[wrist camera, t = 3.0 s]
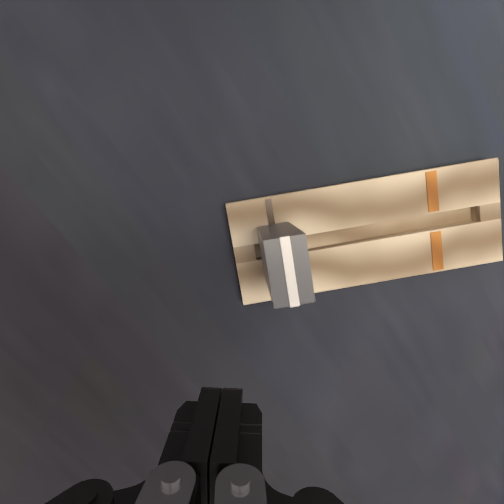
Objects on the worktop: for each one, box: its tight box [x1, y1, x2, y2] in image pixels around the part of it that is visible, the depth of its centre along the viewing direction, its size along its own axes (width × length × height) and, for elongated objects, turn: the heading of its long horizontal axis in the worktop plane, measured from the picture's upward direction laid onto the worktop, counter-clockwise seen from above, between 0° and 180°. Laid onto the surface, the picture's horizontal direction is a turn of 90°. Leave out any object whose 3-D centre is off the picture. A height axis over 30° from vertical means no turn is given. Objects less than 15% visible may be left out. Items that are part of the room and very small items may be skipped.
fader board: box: [225, 158, 503, 305], centre depth 36 cm, size 10×26×2 cm, turn 100°
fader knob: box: [257, 222, 315, 309], centre depth 31 cm, size 5×3×11 cm, turn 10°
